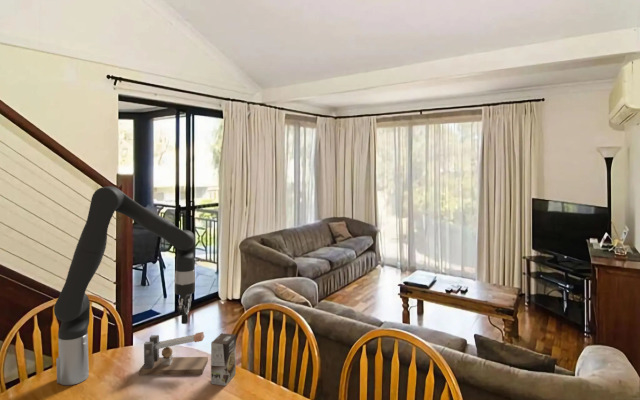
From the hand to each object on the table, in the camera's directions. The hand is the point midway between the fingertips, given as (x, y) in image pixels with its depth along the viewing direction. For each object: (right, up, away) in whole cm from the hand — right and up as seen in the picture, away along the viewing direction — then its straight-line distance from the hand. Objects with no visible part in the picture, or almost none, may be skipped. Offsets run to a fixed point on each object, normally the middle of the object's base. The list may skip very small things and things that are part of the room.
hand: (184, 323), depth 152 cm
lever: (-3, -9, 0) cm, 9 cm away
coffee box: (+17, -20, -6) cm, 27 cm away
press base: (-4, -19, +1) cm, 19 cm away
